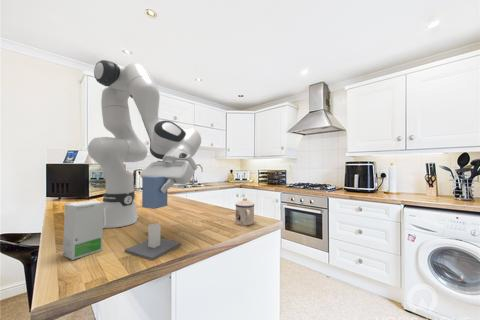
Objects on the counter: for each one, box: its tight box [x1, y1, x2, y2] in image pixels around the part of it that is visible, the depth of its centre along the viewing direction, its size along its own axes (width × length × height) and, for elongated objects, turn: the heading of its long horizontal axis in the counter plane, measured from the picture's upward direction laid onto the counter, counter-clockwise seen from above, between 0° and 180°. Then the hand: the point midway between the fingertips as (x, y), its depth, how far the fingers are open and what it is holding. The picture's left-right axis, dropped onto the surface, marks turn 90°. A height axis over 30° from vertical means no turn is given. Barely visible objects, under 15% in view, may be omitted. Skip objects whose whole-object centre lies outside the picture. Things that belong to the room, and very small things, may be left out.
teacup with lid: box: [235, 197, 255, 226], centre depth 93 cm, size 12×9×12 cm
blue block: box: [141, 176, 169, 210], centre depth 66 cm, size 5×5×10 cm
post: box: [124, 222, 182, 261], centre depth 65 cm, size 12×12×8 cm
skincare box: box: [62, 200, 104, 261], centre depth 62 cm, size 8×7×16 cm
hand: (153, 190), depth 65 cm, fingers closed on blue block, 5 cm apart
